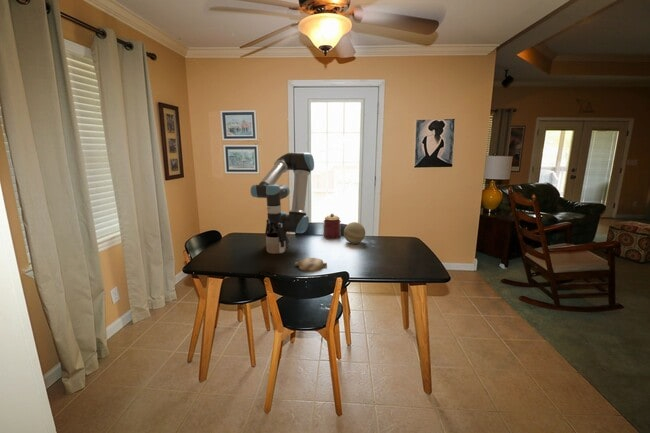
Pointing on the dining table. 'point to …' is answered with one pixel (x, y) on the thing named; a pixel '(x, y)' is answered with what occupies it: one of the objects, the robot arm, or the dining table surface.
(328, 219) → the canister
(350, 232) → the decorative ball
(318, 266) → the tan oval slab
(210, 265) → the dining table surface
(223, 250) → the dining table surface
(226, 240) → the dining table surface
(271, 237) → the planter
